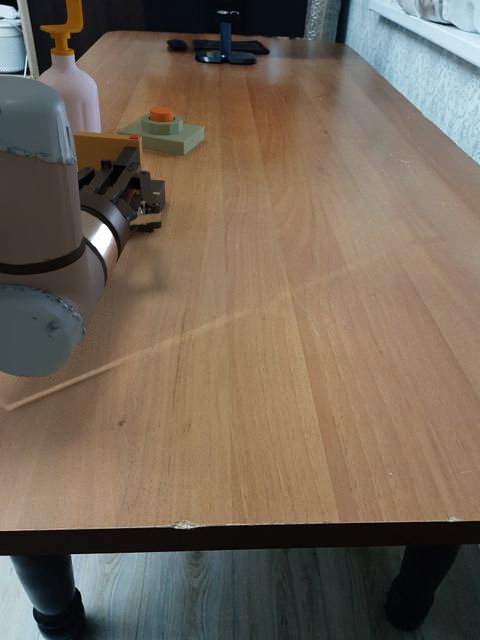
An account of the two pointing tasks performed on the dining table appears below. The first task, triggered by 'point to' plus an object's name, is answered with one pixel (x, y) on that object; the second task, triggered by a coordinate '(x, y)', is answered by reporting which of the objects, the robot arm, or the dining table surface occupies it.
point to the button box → (165, 134)
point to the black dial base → (158, 194)
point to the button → (161, 114)
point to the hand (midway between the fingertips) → (131, 157)
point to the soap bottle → (72, 75)
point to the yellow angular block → (104, 148)
